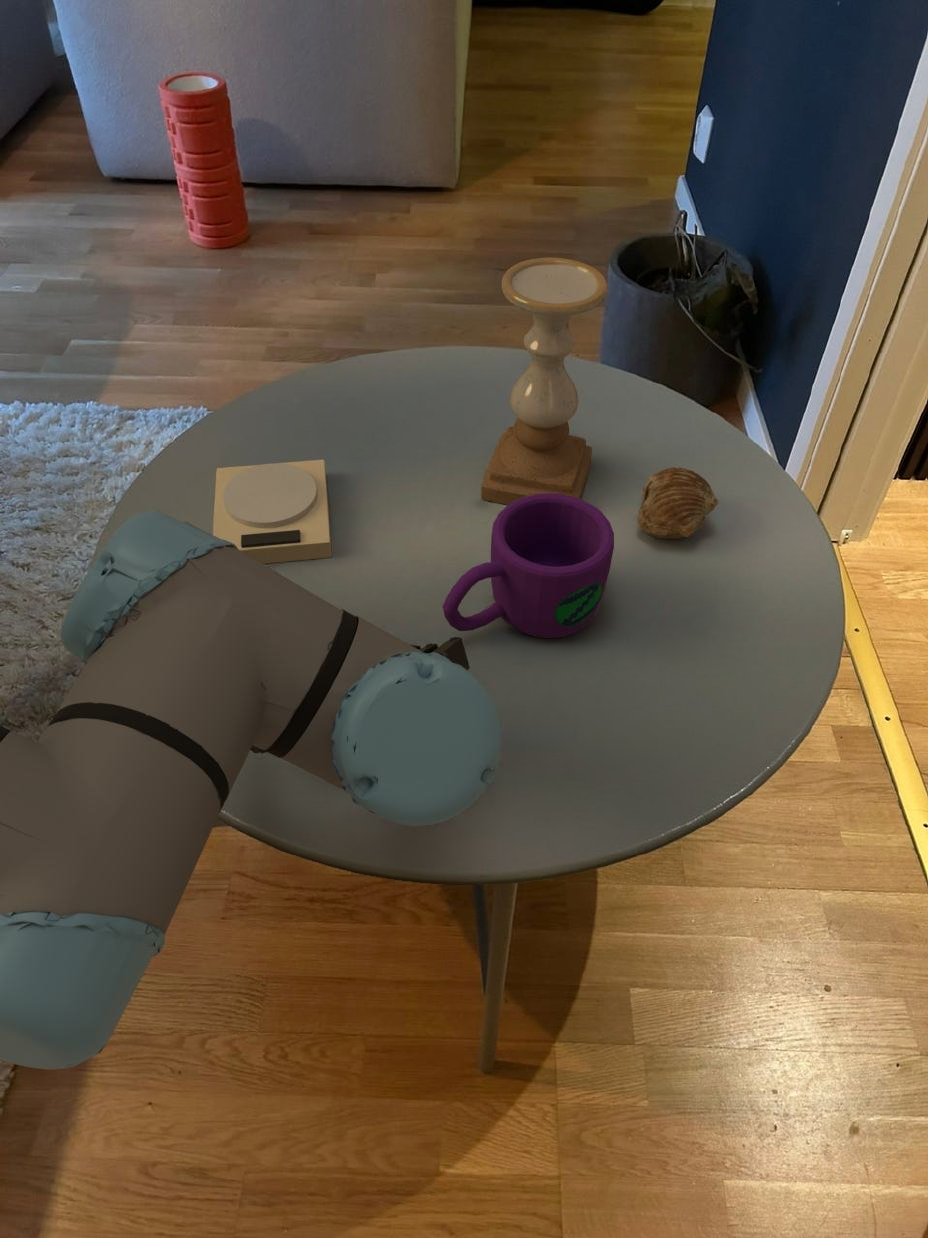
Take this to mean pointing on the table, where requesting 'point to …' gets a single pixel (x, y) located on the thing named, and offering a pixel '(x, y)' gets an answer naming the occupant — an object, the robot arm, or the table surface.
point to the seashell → (675, 503)
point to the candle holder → (544, 384)
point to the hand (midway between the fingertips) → (323, 684)
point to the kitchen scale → (274, 510)
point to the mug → (541, 567)
